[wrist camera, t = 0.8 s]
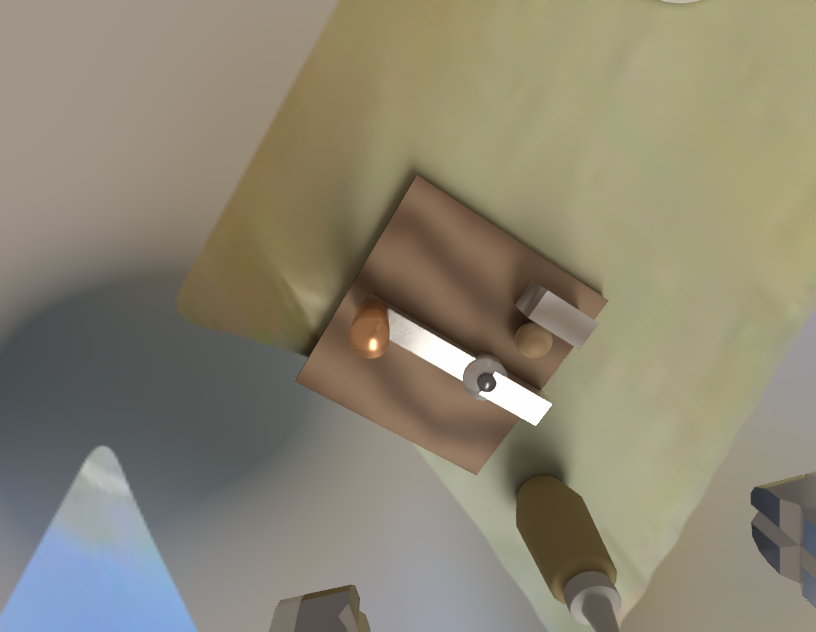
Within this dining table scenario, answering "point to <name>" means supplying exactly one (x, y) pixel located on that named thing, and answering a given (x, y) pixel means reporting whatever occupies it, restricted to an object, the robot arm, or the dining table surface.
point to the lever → (444, 357)
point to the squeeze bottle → (568, 551)
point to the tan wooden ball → (533, 340)
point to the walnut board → (449, 325)
